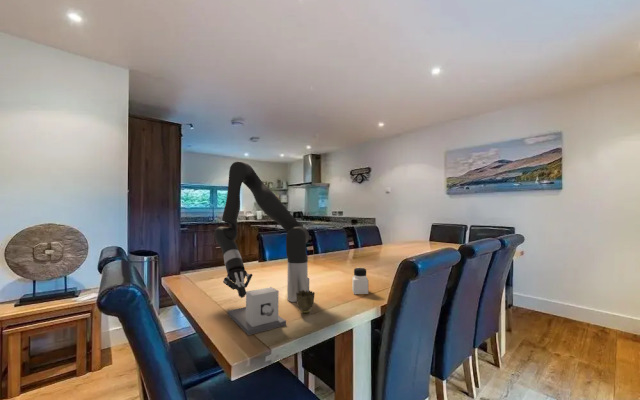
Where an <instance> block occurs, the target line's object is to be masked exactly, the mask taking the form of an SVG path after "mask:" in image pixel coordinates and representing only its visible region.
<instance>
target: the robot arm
mask: <svg viewBox="0 0 640 400" xmlns="http://www.w3.org/2000/svg"><path fill="white" fill-rule="evenodd" d="M242 184H244V186H246V187H247V188H248V189H249V190H250V192H251V193H252V195H253V197H254V200H255V202H256V204H257V205H258V207H259V208H260V209H261V210H262V212H263V213H264V214H266V216H268V218H270V219H271V220H273V221H274V222H275V223H277V224H278V225H279V226H281V228H282V229H283V230H284V231H285V232H286V237H285V251H286V252H285V253H286V255H285V256H286V258H287V290H286V291H287V295H286V297H287V301H288V302H291V303H297V297H296V292H297V293H299V291H302V290H304V291H305V292H306V291H308V292H309V291H310V278H309V277H308V276H309V274H308V272H309V271H308V270H309V269H308V267H309V266H308V262H309V261H308V259H309V258H308V255H307V243H308V242H309V240H310V235H309V230H308V229H307V228H306V227H304V226H303V224H301V223H300V222H299V221H298V220H297V219H296V218H295V217H294V216H293V215H292V214H291V213H290V211H289V210H288V208H287V207H286V206H285V205H284V204H283V203H282V201H281V200H280V199H279V198H278V197H277V196H276V195H275V194H274V192H273V191H272V190H271V189H270V188H269V187H268V186H267V185H266V184H265V183H264V182H263V181H262V179H261V178H260V177H259V176H258V174H257V173H256V171H255V170H254V168H253V167H252V166H251V165H250V164H249V163H246V162H244V161H235V162H234V161H233V163H232V164H231V165H230V166H229V172H228V183H227V192H226V193H227V194H226V199H225V200H226V201H225V204H224V210H223V213H222V218H221V219H222V221H223V222H224V223H225V224H226V223H227V224H228V225H229V226H219V227H216V228H215V230H214V233H213V234H214V237H213V238H214V239H215V242H216V243H217V245H218V246H219V248H220V249H221V251H222V256H223V262H224V265H225V269H226V270H225V271H226V273H227V275H226V277H224V279H223V281H222V282H223V284H225V285H226V286H227V287H229V288H230V290H236V291H237V293H238V294H237V295H238V296H239V297H240V299H241V298H246V288H247V287H248V285H249V283H250V281H251V280H252V278H253V274H252V273H248V271H246V269H245V265H244V261H243V257H242V256H241V253H240V250H239V248H238V244H237V242H235V241H236V240H237V237H238V218H239V214H240V210H241V195H240V194H241V188H242ZM245 279H246V280H245ZM245 281H246V282H245Z"/></svg>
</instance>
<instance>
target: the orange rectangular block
mask: <svg viewBox="0 0 640 400" xmlns="http://www.w3.org/2000/svg"><path fill="white" fill-rule="evenodd" d="M261 312H263V313H264V314H265V315H267V316H271V315H272V314H273V312H274V310H273V308H272V307H270V306H269V305H267V304H261Z"/></svg>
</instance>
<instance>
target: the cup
mask: <svg viewBox="0 0 640 400" xmlns="http://www.w3.org/2000/svg"><path fill="white" fill-rule="evenodd" d="M315 293H316V292H315V291H312V290H309V292H308V291H306V292H305V291H304V290H302V291H299V293H297V292H296V297H297V302H296V303H297V307H298V309H300V312H301V314H304V315H307V314H310V312H311V310H310V309H312V308H313V305H314V303H315V302H314V301H315Z"/></svg>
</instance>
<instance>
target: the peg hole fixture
mask: <svg viewBox="0 0 640 400" xmlns="http://www.w3.org/2000/svg"><path fill="white" fill-rule="evenodd" d="M261 304H267V305H269V306H270V307H272V308H273V310H274V312H273V314H272V315H271V316H267V315H265V314H264V313H263V312H261ZM227 316H228V317H229V318H230V319H231V320H232V321H233V322H234V323H235V324H236V325H238V327H240V329H241V330H243V332H244V333H246V335H247V336H251V335H254V334H255V335H256V334H258V333H262V332H267V331H269V330H273V329H277V328H279V327H284V326H287V320H286V319H284V318H283V317H281V316H280V315H279V290H278V289H276V288H273V287H272V286H270V287H269V286H268V287H263V288H258V289H257V288H256V289H253V290H247V291H246V295H245V307H239V308H235V309H231V310H227Z"/></svg>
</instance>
